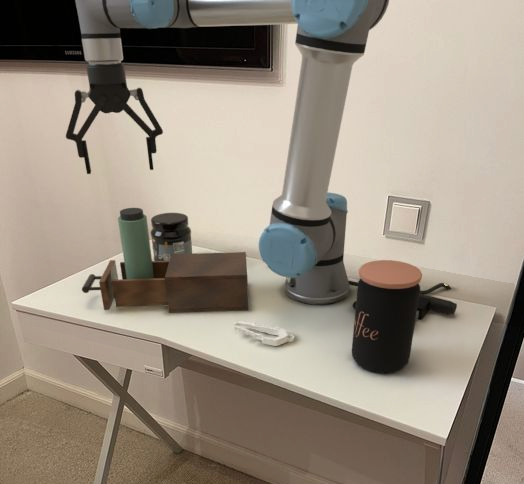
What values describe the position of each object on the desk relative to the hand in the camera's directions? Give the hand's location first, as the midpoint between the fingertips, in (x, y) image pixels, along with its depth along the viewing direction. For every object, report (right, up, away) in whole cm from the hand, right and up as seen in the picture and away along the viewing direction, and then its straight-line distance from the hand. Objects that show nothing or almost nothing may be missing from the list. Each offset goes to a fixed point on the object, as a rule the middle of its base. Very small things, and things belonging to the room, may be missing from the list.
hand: (120, 170), depth 120 cm
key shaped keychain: (+31, -38, -11) cm, 50 cm away
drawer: (+2, -28, +4) cm, 28 cm away
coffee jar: (+54, -42, -18) cm, 71 cm away
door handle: (+62, -32, -2) cm, 70 cm away
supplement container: (+8, -16, +25) cm, 31 cm away
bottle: (+4, -27, +4) cm, 27 cm away
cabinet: (+19, -28, +5) cm, 34 cm away
